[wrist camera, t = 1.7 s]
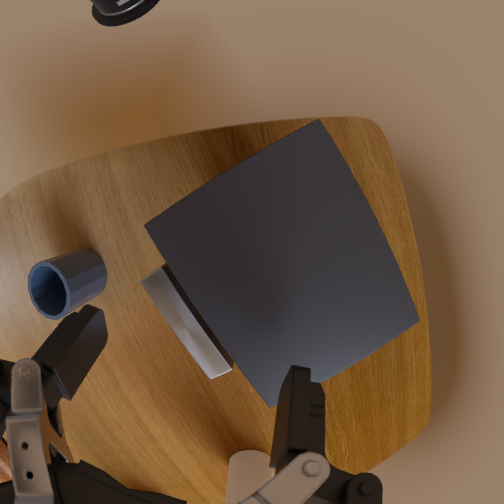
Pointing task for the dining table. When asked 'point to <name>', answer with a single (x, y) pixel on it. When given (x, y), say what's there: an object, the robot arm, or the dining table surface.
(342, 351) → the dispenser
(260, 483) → the cylindrical container
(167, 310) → the plate
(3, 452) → the bread
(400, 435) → the dining table surface
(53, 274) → the cup
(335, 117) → the dining table surface
